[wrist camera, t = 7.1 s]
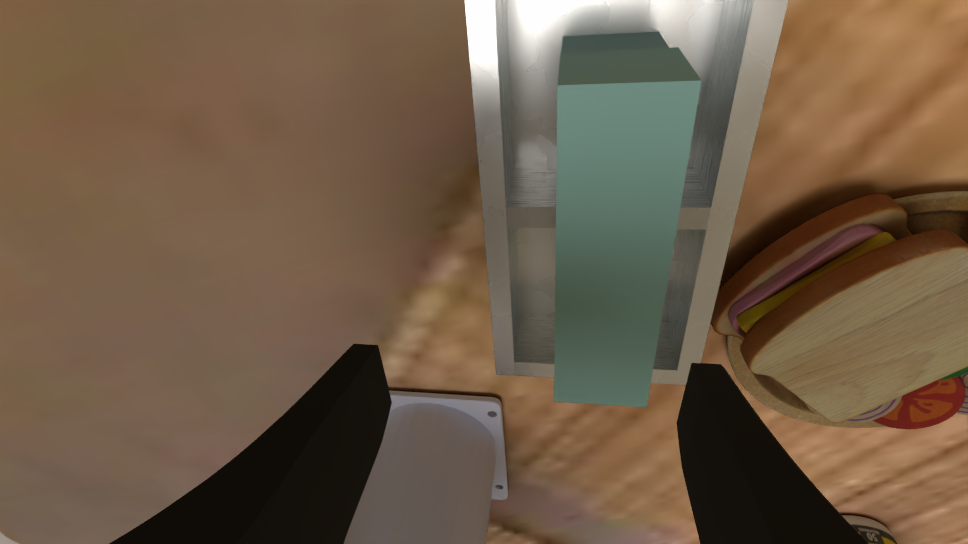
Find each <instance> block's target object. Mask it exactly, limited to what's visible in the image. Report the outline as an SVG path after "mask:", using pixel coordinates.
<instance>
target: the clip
mask: <svg viewBox="0 0 968 544" xmlns="http://www.w3.org/2000/svg"><path fill="white" fill-rule="evenodd" d="M701 81H702V80H701V79H700V77H699V76H698V75H697V73H696V72H695V70H694V69H693V67H692V66H691V65H690V63H689V62H688V60H687V59H686V57H685V56H684V55H683V53H682V52H681V50H680V49H679V47H674V48H669V47H668V45H667V43H666V42H665V40H664V39H663V37H662V35H661V34H660V32H641V33H620V34H599V35H578V36H563V38H562V49H561V52H560V62H559V73H558V84H557V169H556V267H555V366H554V402H570V403H585V404H601V405H617V406H633V407H647V402H648V396H649V390H650V384H651V378H652V372H653V367H654V361H655V355H656V349H657V343H658V337H659V331H660V325H661V319H662V313H663V307H664V301H665V295H666V289H667V283H668V277H669V272H670V266H671V260H672V254H673V248H674V242H675V236H676V230H677V224H678V218H679V212H680V206H681V200H682V194H683V188H684V182H685V176H686V171H687V165H688V159H689V153H690V147H691V141H692V135H693V129H694V123H695V117H696V111H697V105H698V99H699V93H700V87H701Z"/></svg>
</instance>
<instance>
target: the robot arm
mask: <svg viewBox="0 0 968 544" xmlns="http://www.w3.org/2000/svg"><path fill="white" fill-rule="evenodd" d="M493 411H494V412H493ZM677 430H678V439H679V447H680V455H681V463H682V469H683V473H684V478H685V482H686V486H687V490H688V494H689V499H690V503H691V507H692V511H693V515H694V519H695V523H696V527H697V531H698V535H699V540H700V544H869V543H868V542H867V541H866V540H865V539H864V538H863V537H862V536H861V535H860V534H859V533H858V532H857V531H856V530H855V529H854V528H853V527H852V526H851V525H850V524H849V523H848V522H847V521H846V520H845V518H844V517H843V516H842V515H841V514H840V513H839V512H838V511H837V510H836V509H835V508H834V507H833V506H832V505H831V503H830V502H829V501H828V500H827V499H826V498H825V497H824V496H823V495H822V493H821V492H820V491H819V490H818V489H817V488H816V487H815V485H814V484H813V483H812V482H811V481H810V480H809V479H808V477H807V476H806V475H805V474H804V473H803V472H802V470H801V469H800V468H799V467H798V466H797V464H796V463H795V462H794V461H793V460H792V458H791V457H790V456H789V455H788V453H787V452H786V451H785V450H784V448H783V447H782V446H781V445H780V443H779V442H778V441H777V440H776V438H775V437H774V436H773V434H772V433H771V432H770V431H769V429H768V428H767V427H766V425H765V424H764V423H763V421H762V420H761V419H760V417H759V416H758V415H757V413H756V412H755V411H754V409H753V408H752V407H751V405H750V404H749V402H748V401H747V400H746V398H745V397H744V395H743V394H742V393H741V391H740V390H739V388H738V387H737V386H736V384H735V383H734V381H733V380H732V378H731V377H730V375H729V374H728V373H727V371H726V370H725V368H724V367H723V366H722V365H721V364H703V363H691V367H690V371H689V375H688V379H687V383H686V387H685V391H684V395H683V400H682V404H681V408H680V412H679V416H678V420H677ZM507 498H508V479H507V467H506V454H505V441H504V429H503V416H502V404H501V401H500V400H499V399H497V398H495V397H485V396H469V395H453V394H437V393H421V392H405V391H389V389H388V385H387V380H386V376H385V372H384V368H383V364H382V360H381V356H380V352H379V348H378V345H364V344H353V345H352V346H351V347H350V348H349V349H348V350H347V351H346V352H345V353H344V354H343V355H342V356H341V357H340V358H339V359H338V360H337V361H336V362H335V364H334V365H333V366H332V367H331V368H330V369H329V370H328V371H327V372H326V373H325V374H324V375H323V376H322V377H321V378H320V379H319V380H318V381H317V382H316V383H315V384H314V385H313V386H312V387H311V388H310V389H309V390H308V391H307V392H306V393H305V394H304V395H303V396H302V397H301V398H300V399H299V400H298V401H297V402H296V403H295V404H294V405H293V406H292V407H291V408H290V409H289V410H288V411H287V412H286V413H285V414H284V415H283V416H282V417H280V418H279V419H278V420H277V421H276V422H275V423H274V424H273V425H272V426H271V427H269V428H268V429H267V430H266V431H265V432H264V433H263V434H262V435H261V436H260V437H258V438H257V439H256V440H255V441H254V442H253V443H252V444H250V445H249V446H248V447H247V448H246V449H245V450H243V451H242V452H241V453H240V454H239V455H237V456H236V457H235V458H234V459H232V460H231V461H230V462H229V463H227V464H226V465H225V466H224V467H222V468H221V469H220V470H218V471H217V472H216V473H215V474H213V475H212V476H211V477H209V478H208V479H207V480H205V481H204V482H203V483H201V484H200V485H198V486H197V487H195V488H194V489H193V490H191V491H190V492H188V493H187V494H185V495H184V496H183V497H181V498H180V499H178V500H177V501H175V502H174V503H173V504H171V505H170V506H168V507H167V508H165V509H164V510H162V511H161V512H159V513H158V514H156V515H155V516H153V517H152V518H150V519H149V520H147V521H145V522H144V523H142V524H141V525H139V526H138V527H136V528H134V529H133V530H131V531H130V532H128V533H126V534H125V535H123V536H121V537H120V538H118V539H116V540H115V541H113V542H111V543H110V544H486V538H487V531H488V524H489V517H490V509H491V502H492V499H495V500H505V499H507Z"/></svg>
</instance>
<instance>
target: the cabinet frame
mask: <svg viewBox="0 0 968 544" xmlns="http://www.w3.org/2000/svg"><path fill="white" fill-rule="evenodd" d="M787 4H788V0H465V9H466V21H467V33H468V45H469V56H470V68H471V80H472V92H473V104H474V116H475V128H476V140H477V152H478V164H479V176H480V187H481V199H482V211H483V223H484V235H485V247H486V259H487V271H488V283H489V295H490V306H491V318H492V330H493V342H494V354H495V366H496V374H498V375H516V376H534V377H552V378H554V366H555V267H556V169H557V84H558V73H559V62H560V52H561V49H562V38H563V36H578V35H599V34H620V33H641V32H660V34H661V35H662V37H663V39H664V40H665V42H666V43H667V45H668V47H669V48H674V47H679V49H680V50H681V52H682V53H683V55H684V56H685V57H686V59H687V60H688V62H689V63H690V65H691V66H692V67H693V69H694V70H695V72H696V73H697V75H698V76H699V77H700V79H701V80H702V81H701V87H700V93H699V99H698V105H697V111H696V117H695V123H694V129H693V135H692V141H691V147H690V153H689V159H688V165H687V171H686V176H685V182H684V188H683V194H682V200H681V206H680V212H679V218H678V224H677V230H676V236H675V242H674V248H673V254H672V260H671V266H670V272H669V277H668V283H667V289H666V295H665V301H664V307H663V313H662V319H661V325H660V331H659V337H658V343H657V349H656V355H655V361H654V367H653V372H652V378H651V383H660V384H678V385H686V383H687V379H688V375H689V371H690V367H691V363H701V359H702V355H703V351H704V347H705V343H706V339H707V334H708V330H709V326H710V322H711V318H712V314H713V310H714V306H715V301H716V297H717V293H718V289H719V285H720V281H721V277H722V273H723V268H724V264H725V260H726V256H727V252H728V248H729V244H730V239H731V235H732V231H733V227H734V223H735V219H736V215H737V211H738V206H739V202H740V198H741V194H742V190H743V186H744V182H745V178H746V173H747V169H748V165H749V161H750V157H751V153H752V149H753V145H754V140H755V136H756V132H757V128H758V124H759V120H760V116H761V112H762V107H763V103H764V99H765V95H766V91H767V87H768V83H769V79H770V74H771V70H772V66H773V62H774V58H775V54H776V50H777V45H778V41H779V37H780V33H781V29H782V25H783V21H784V17H785V12H786V8H787Z"/></svg>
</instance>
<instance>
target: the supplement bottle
mask: <svg viewBox="0 0 968 544" xmlns="http://www.w3.org/2000/svg"><path fill="white" fill-rule="evenodd" d="M842 516H843V517H844V518H845V520H846V521H847V522H848V523H849V524H850V525H851V526H852V527H853V528H854V529H855V530H856V531H857V532H858V533H859V534H860V535H861V536H862V537H863V538H864V539H865V540H866V541H867V542H868V543H869V544H897V543H896V541H895V539H894V537H893V535H892V534H891V532H890V531H889V530H888V529H887V528H886V527H885V526H883V525H882V524H880V523H879V522H877V521H874V520H872V519H869V518H865V517H861V516H854V515H842Z"/></svg>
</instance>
